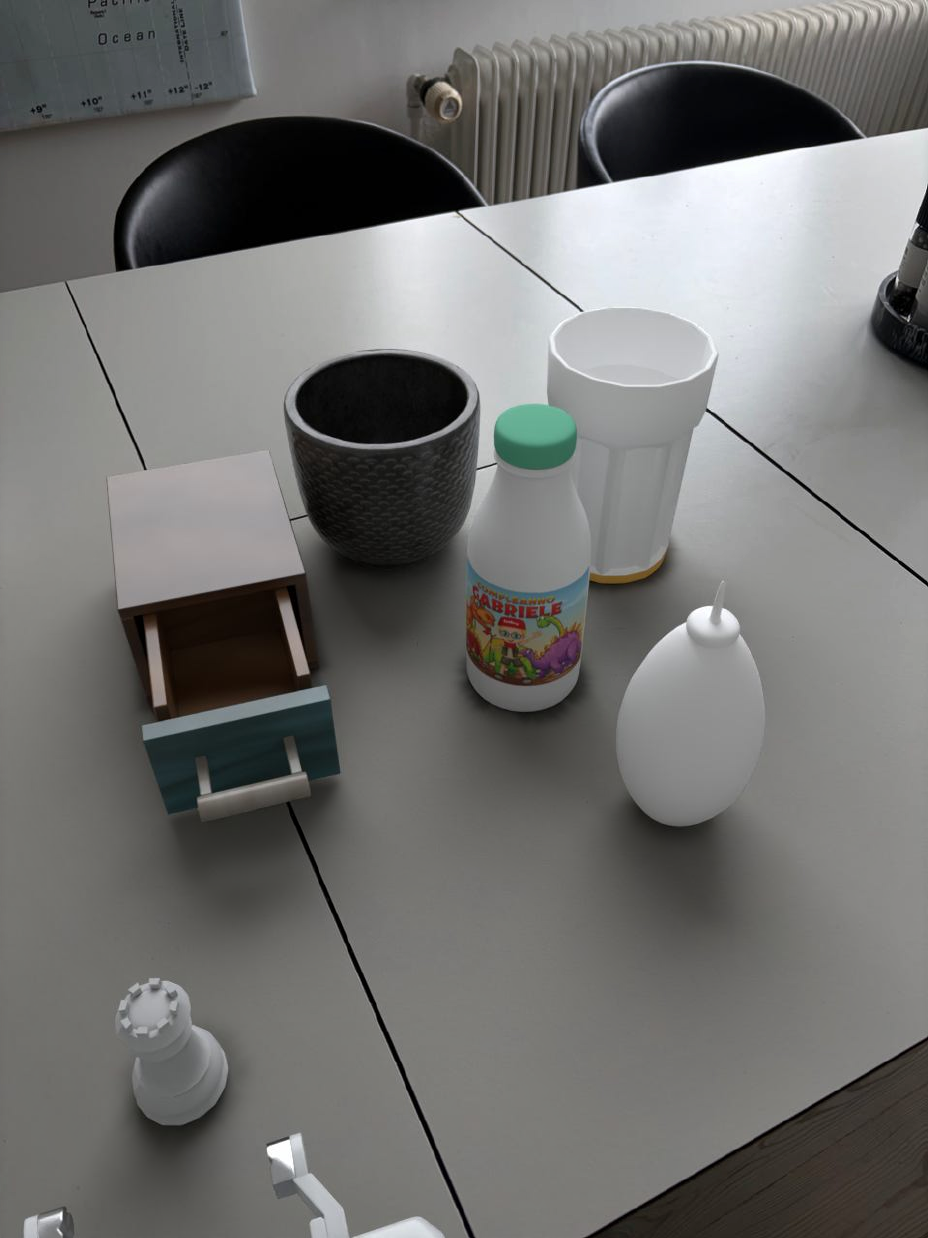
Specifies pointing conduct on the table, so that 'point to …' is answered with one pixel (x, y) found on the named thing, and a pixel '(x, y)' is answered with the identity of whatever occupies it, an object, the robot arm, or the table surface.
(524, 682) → the milk bottle
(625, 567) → the cup
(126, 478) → the cabinet
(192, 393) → the table surface
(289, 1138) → the robot arm
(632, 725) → the sauce bottle
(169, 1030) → the rook chess piece
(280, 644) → the drawer
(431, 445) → the planter
